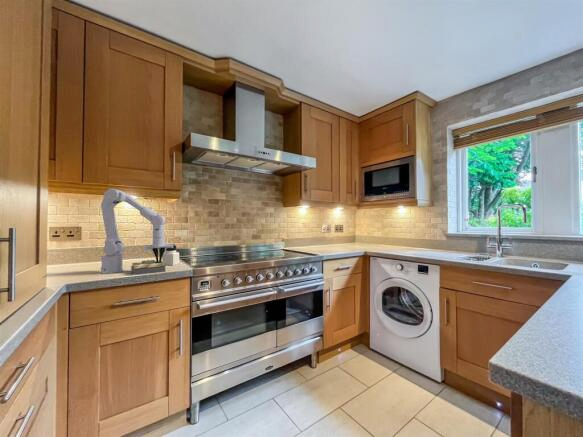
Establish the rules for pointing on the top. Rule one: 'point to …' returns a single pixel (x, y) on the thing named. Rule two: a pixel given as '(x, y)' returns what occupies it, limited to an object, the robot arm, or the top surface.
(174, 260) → the medicine bottle
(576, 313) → the top surface
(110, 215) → the robot arm
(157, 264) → the leveling plate
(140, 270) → the instrument base
